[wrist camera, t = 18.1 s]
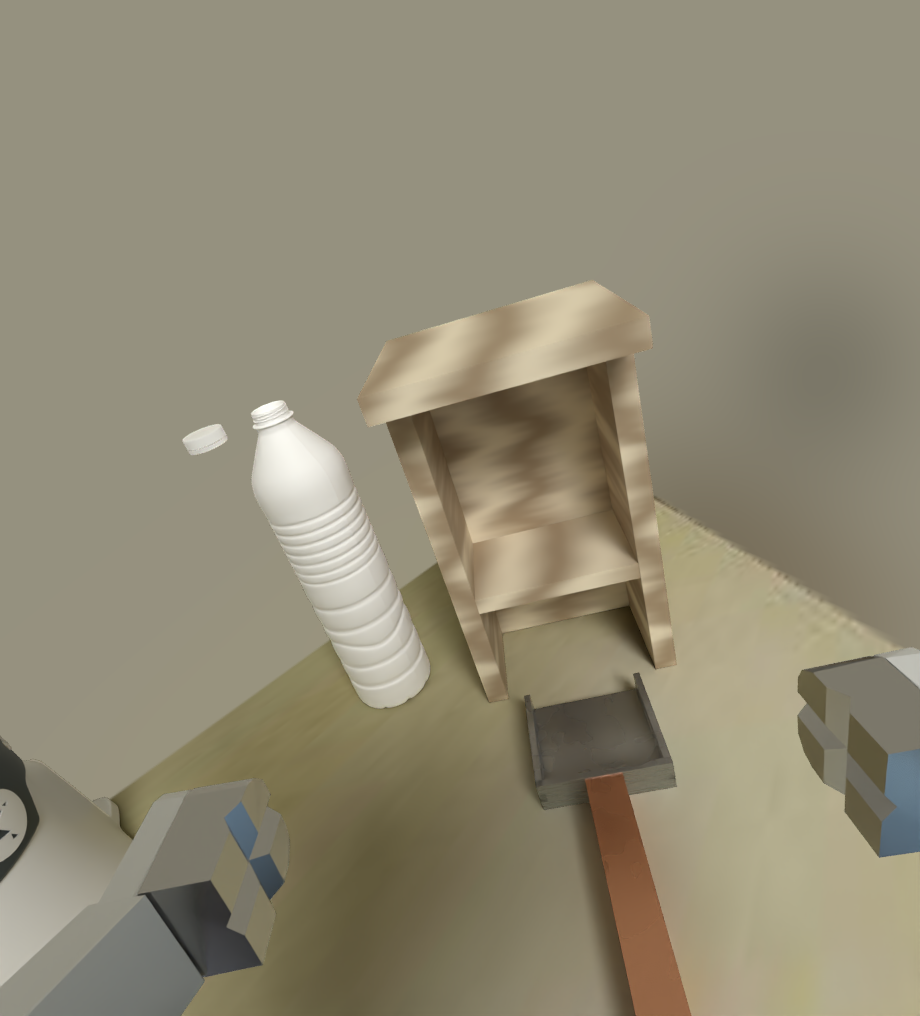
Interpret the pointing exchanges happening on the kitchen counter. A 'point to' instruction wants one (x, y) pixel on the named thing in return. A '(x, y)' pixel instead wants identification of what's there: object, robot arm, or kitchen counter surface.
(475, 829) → the kitchen counter surface
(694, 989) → the kitchen counter surface
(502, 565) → the stand
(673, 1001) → the shovel
